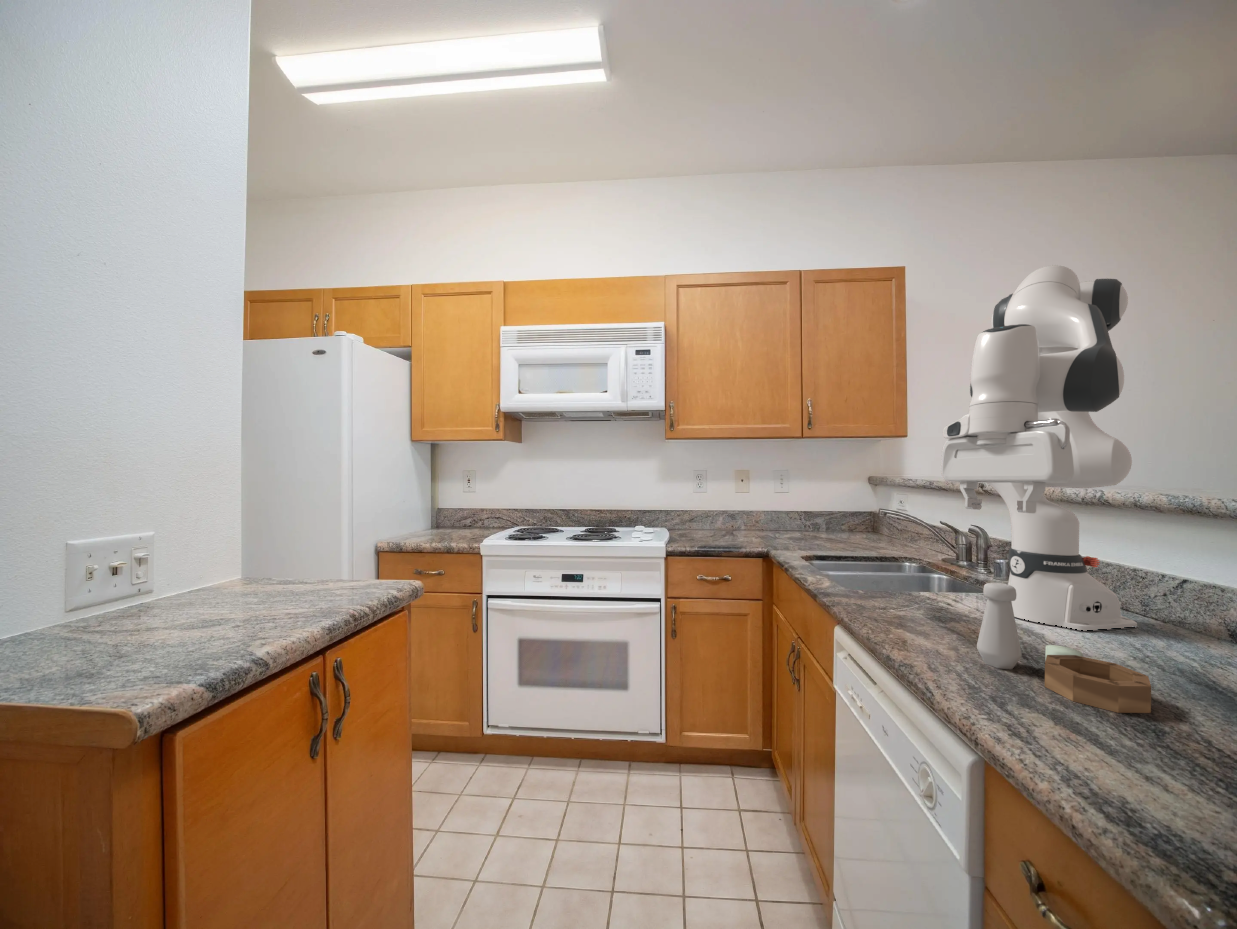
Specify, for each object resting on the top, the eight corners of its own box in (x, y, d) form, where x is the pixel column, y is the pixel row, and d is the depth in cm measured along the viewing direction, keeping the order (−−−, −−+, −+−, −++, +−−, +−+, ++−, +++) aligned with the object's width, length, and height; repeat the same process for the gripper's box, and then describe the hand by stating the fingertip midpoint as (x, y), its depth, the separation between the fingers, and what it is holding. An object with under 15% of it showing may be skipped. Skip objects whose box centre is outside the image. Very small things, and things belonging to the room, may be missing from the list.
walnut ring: (1094, 678, 75) (1094, 655, 75) (1173, 713, 64) (1174, 686, 64) (1026, 677, 75) (1026, 654, 75) (1095, 712, 64) (1095, 685, 64)
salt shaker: (1029, 673, 76) (1031, 589, 76) (988, 669, 77) (989, 587, 77) (1008, 659, 82) (1009, 581, 82) (969, 655, 83) (971, 579, 83)
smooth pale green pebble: (1064, 663, 81) (1064, 645, 81) (1090, 674, 77) (1090, 655, 77) (1037, 663, 81) (1038, 644, 81) (1062, 674, 76) (1062, 655, 76)
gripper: (1088, 418, 69) (1085, 517, 68) (967, 432, 89) (963, 508, 89) (1049, 414, 68) (1045, 514, 68) (935, 429, 88) (932, 506, 88)
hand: (998, 511), depth 78 cm, fingers open, 8 cm apart
